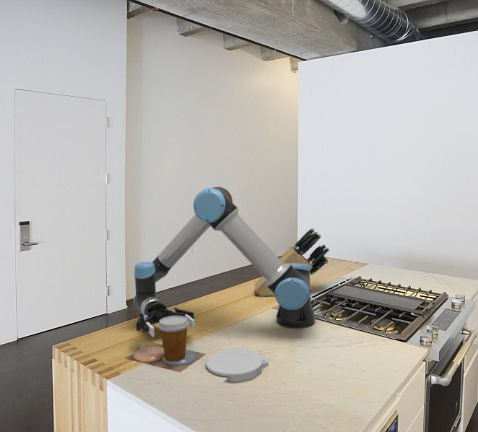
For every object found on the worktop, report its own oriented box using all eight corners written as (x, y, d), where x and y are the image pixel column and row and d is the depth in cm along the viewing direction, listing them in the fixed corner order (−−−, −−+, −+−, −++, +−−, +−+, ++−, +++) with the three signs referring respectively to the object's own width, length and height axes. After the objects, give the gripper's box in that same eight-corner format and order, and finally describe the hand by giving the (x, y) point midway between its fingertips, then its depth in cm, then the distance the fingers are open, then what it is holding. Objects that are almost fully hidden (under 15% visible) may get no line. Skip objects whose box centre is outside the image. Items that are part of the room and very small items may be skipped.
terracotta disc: (175, 351, 144) (175, 349, 144) (153, 364, 135) (153, 363, 134) (149, 345, 149) (148, 344, 149) (126, 358, 140) (126, 356, 140)
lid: (281, 370, 132) (281, 361, 132) (224, 390, 122) (223, 379, 121) (250, 351, 147) (249, 342, 146) (196, 367, 136) (195, 357, 136)
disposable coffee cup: (162, 351, 143) (160, 315, 142) (191, 350, 143) (190, 314, 142) (157, 364, 134) (155, 326, 132) (188, 363, 134) (187, 324, 133)
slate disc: (204, 354, 141) (204, 353, 141) (183, 368, 131) (183, 367, 131) (176, 348, 146) (176, 347, 146) (155, 361, 137) (154, 360, 137)
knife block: (330, 295, 206) (329, 230, 202) (255, 297, 206) (253, 232, 203) (325, 288, 217) (325, 226, 214) (254, 290, 218) (253, 228, 214)
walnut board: (206, 358, 141) (206, 353, 141) (180, 377, 129) (180, 372, 129) (152, 346, 152) (152, 342, 152) (124, 362, 140) (123, 358, 140)
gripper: (186, 314, 167) (209, 331, 148) (120, 326, 155) (136, 347, 136) (185, 294, 166) (208, 310, 147) (118, 306, 154) (134, 324, 136)
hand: (173, 328), depth 142 cm, fingers open, 13 cm apart
